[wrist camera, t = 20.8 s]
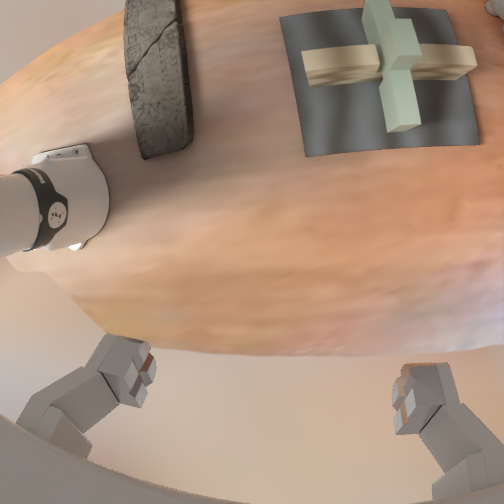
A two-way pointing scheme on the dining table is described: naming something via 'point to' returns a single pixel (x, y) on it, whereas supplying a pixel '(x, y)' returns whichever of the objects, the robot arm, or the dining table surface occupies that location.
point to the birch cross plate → (376, 83)
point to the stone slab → (158, 76)
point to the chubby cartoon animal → (495, 8)
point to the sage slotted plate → (394, 63)
